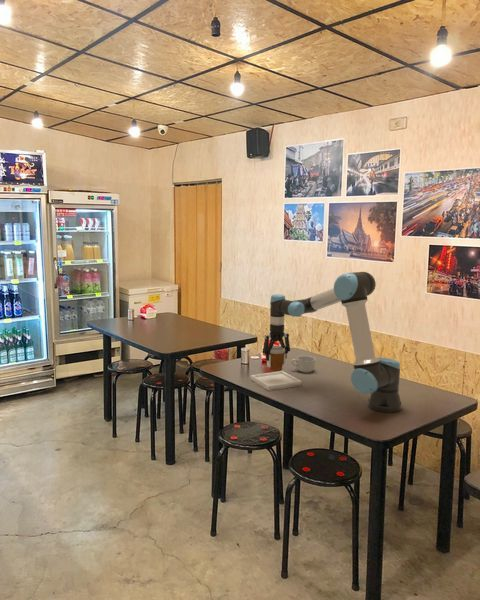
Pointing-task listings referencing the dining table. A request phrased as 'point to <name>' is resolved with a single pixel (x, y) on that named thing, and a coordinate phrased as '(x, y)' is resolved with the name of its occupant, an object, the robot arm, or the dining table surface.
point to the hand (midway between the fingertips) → (276, 365)
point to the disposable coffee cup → (277, 358)
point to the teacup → (304, 363)
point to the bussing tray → (276, 380)
